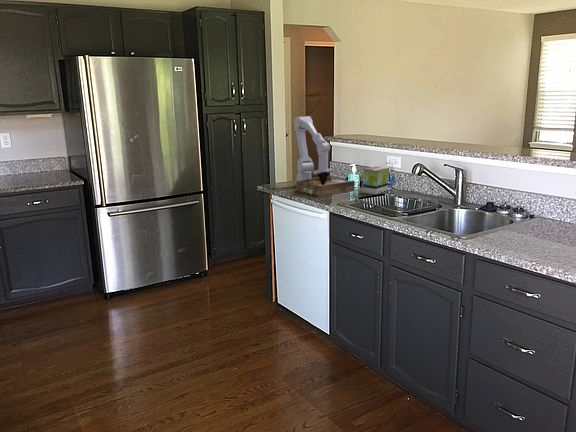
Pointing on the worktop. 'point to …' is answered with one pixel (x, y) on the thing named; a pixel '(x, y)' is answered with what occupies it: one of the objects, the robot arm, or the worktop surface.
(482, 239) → the worktop surface
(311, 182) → the maple cube
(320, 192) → the trap board
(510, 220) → the worktop surface
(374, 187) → the tea box
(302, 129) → the robot arm
